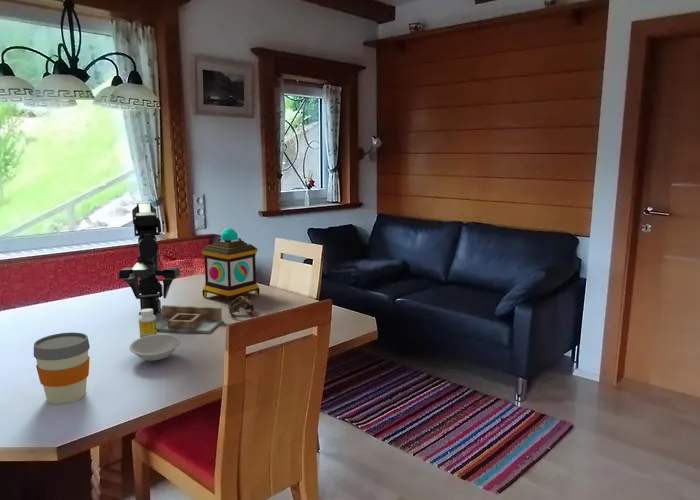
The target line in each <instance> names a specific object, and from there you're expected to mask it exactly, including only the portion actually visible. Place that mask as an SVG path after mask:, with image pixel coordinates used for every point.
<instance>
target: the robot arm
mask: <svg viewBox="0 0 700 500" xmlns="http://www.w3.org/2000/svg"><path fill="white" fill-rule="evenodd" d="M131 215H132V224H133V231H134V237H138V238H137V243H138V244H137V246H138V255H137V259H136V260H137V262H136V263H135V264H134V265H133V266H132V267H124V268H122V269H120V270H118V272H117V277H118V279H120V280H121V279H122V281H123V282H126V283H127V284H128V285H129V287H130V288H131V291H132V293H133V295H134V297H135V299H136V300H139V303H140V305H139V306H140V311H141V310H142V309H153V315H155V316H156V315H157V314H159V313H160V312H162V305H161V299H160V298H162V297H163V299H164V300H165V299H167V296H168V293H169V291H170V288H171V285H172V283H173V281H174V280H175V279H177V278H178V277H179V276H181V270H180V268H179V267H178V266H177V267H176V266H174V267H173V266H172V267H170V266H169V267H166V268H164V269H160V267H161V265H159V257H160V253H158V250H159V244H158V241H157V236H160V234H161V233H162V224H161V223H162V222H161V219H160V218H159V216H158V213H157V209H156V208H155V207H154V206H152V202H150V201H139V202H136V206H135V207H134V208H133V209H131ZM158 276H159V277H160V276H161V277H163V279H161V280H162V283H163V284H162V283H161V281H159V277H158ZM140 311H139V312H138V315H141V312H140Z"/></svg>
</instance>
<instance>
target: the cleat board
mask: <svg viewBox="0 0 700 500" xmlns="http://www.w3.org/2000/svg"><path fill="white" fill-rule="evenodd" d="M161 309H162V310H161V316H162V317H161V318H160V319H159V320H158V321H156V330H157V333H158V332H159V333H161V332H162V333H182V334H183V333H185V334H187V333H188V334H190V333H191V334H208V335H209V334H211V333H212V332H213V331H214V330H215V329H216V328H217V327H218V326H219V325H220V324H221V323H222V322H223V319H224V318H223V316H222V315H223V313H222V311H223V310H222V306H201V305H200V306H199V305H198V306H196V305H170V304H169V305H166V304H165V305H164V304H163V305H161Z"/></svg>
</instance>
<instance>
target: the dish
mask: <svg viewBox="0 0 700 500" xmlns="http://www.w3.org/2000/svg"><path fill="white" fill-rule="evenodd" d="M180 344H181V338H180V337H178V336H177V335H174V334H169V333H157V334H155V335H149V336H145V337H142V338H140V337H139V338H138V339H135V340H134V341H133V342H132V343H131V344H130V345H129V351H130V352H131V353H133V354H134V355H135V356H137V357H138V358H140V359H143V360H145V361H152V362H153V361H159V360H163V359H165V358H167V357H169V356H170V355H172V353H174V352H175V350H176V349H177V348H178V347H179V346H180Z"/></svg>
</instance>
